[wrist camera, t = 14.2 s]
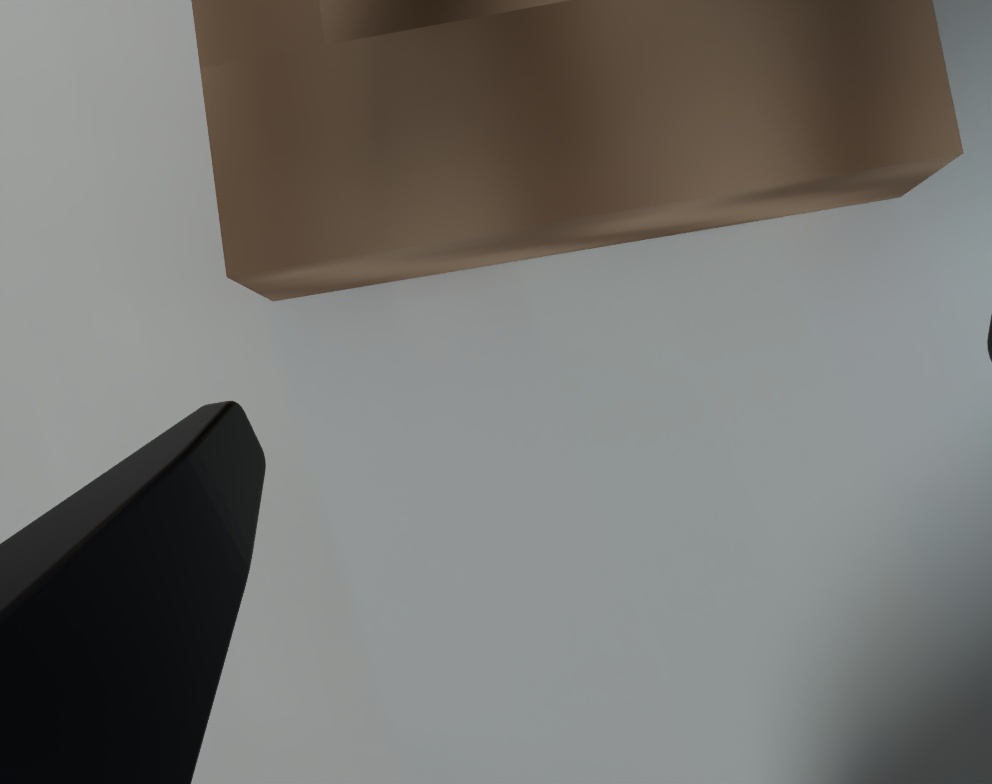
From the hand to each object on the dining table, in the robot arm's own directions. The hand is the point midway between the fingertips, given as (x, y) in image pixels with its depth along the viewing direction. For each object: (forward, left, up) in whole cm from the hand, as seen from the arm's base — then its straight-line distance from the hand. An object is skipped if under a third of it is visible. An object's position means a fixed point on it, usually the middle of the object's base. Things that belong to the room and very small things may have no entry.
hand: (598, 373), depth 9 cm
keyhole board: (+3, +12, -11) cm, 16 cm away
